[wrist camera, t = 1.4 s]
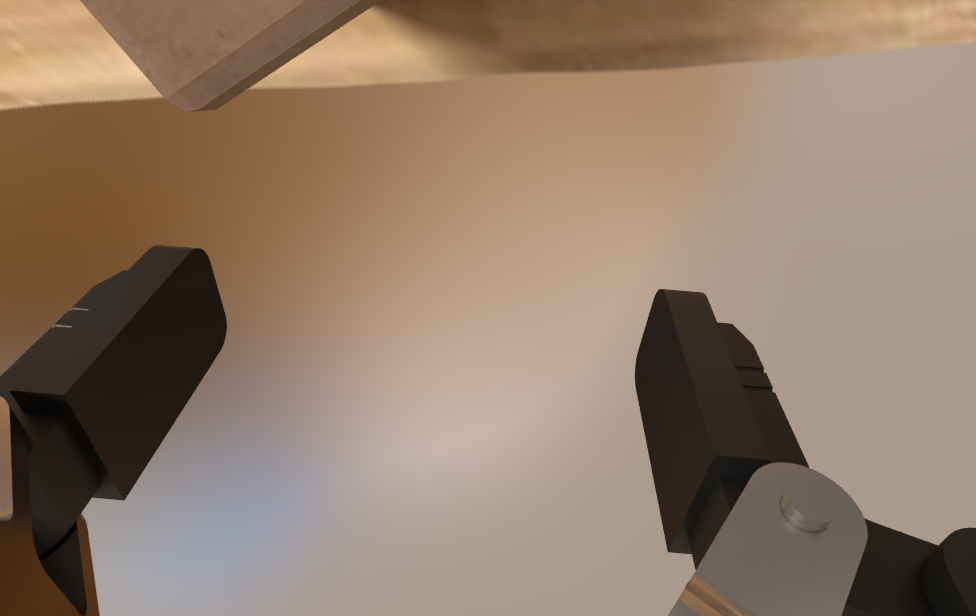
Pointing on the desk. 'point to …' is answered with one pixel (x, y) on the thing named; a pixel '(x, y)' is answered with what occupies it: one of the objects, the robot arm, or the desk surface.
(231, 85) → the block
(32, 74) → the desk surface
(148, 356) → the robot arm
